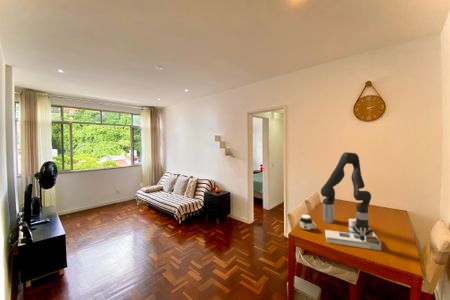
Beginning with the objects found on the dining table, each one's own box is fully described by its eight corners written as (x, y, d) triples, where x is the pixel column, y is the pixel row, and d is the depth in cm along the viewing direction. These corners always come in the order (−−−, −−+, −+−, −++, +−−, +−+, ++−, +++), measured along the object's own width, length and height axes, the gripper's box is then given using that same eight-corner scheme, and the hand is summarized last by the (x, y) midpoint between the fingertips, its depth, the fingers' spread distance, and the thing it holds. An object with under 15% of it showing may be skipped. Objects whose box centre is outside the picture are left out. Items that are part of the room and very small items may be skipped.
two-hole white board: (325, 232, 164) (325, 226, 164) (373, 239, 151) (373, 232, 151) (326, 242, 150) (326, 235, 149) (381, 250, 136) (381, 243, 136)
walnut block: (365, 240, 146) (365, 235, 145) (375, 241, 143) (375, 236, 143) (368, 244, 140) (368, 239, 140) (378, 245, 138) (378, 240, 137)
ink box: (352, 235, 158) (352, 221, 157) (348, 232, 163) (348, 218, 162) (362, 234, 158) (362, 220, 158) (358, 231, 164) (358, 218, 163)
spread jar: (298, 228, 174) (298, 215, 173) (305, 224, 181) (304, 212, 180) (311, 233, 165) (311, 219, 164) (318, 228, 172) (317, 215, 171)
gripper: (371, 216, 144) (371, 239, 145) (350, 214, 149) (350, 236, 150) (374, 220, 137) (374, 244, 138) (352, 218, 142) (352, 241, 143)
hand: (362, 240), depth 144 cm, fingers closed
